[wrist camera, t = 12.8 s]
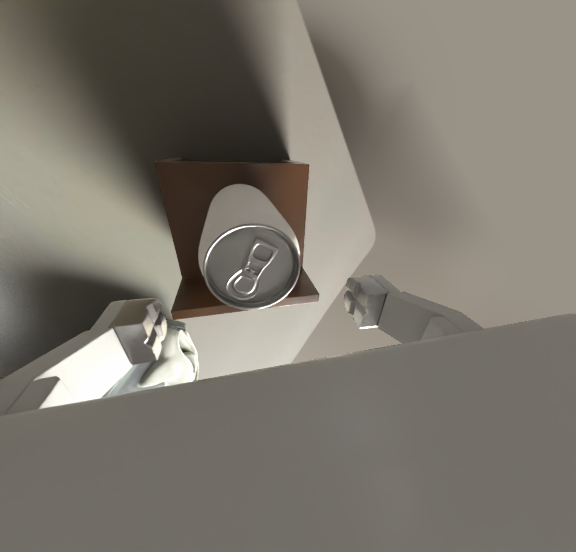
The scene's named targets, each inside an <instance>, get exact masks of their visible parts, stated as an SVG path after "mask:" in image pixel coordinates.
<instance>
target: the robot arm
mask: <svg viewBox="0 0 576 552" xmlns="http://www.w3.org/2000/svg"><path fill="white" fill-rule="evenodd" d="M346 286H347V288H348V290H347V291H346V293H345V294H344V305H345V308H346V310H347V311H348V313H350V314H352V315H354V317H353V320H354V321H355V322H356V324H357V325H358V326H359V328H360V329H362V328H370V327H378V328H379V329H380V330H382V331H384V332H385V333H387V334H388V335H390V336H391V337H393V338H395V339H396V340H398V341H399V342H401V343H402V344H398V345H392V346H387V347H381V348H375V349H370V350H364V351H359V352H353V353H347V354H342V355H336V356H331V357H325V358H319V359H314V360H308V361H303V362H297V363H291V364H286V365H280V366H275V367H269V368H264V369H258V370H253V371H247V372H242V373H236V374H231V375H225V376H220V377H214V378H208V379H203V380H197V381H192V382H186V383H181V384H175V385H170V386H164V387H158V388H153V389H147V390H142V391H136V392H131V393H125V394H120V395H114V396H108V397H103V398H101V397H102V396H103V395H104V394H105V393H106V392H107V391H108V390H109V389H110V388H111V387H112V386H113V385H114V384H115V383H116V382H117V381H118V380H119V379H120V378H121V377H122V376H123V375H124V374H125V373H126V372H127V371H128V370H129V369H130V368H131V367H132V365H136V364H141V363H147V362H152V361H157V360H158V357H159V354H160V351H161V348H162V345H161V343H160V342H161V341H162V340H163V339H164V338H165V336H166V332H167V323H166V318H165V315H164V314H162V313H161V312H160V309H161V307H162V306H161V303H160V300H159V299H158V298H145V299H133V300H122V301H114V302H111V303H110V304H109V305H108V307H107V308H106V309H105V311H104V312H103V313H102V315H101V316H100V317H99V319H98V320H97V321H96V323H95V324H94V325H93V327H92V328H91V329H90V331H84V332H82V333H81V334H79V335H77V336H75V337H74V338H72V339H70V340H69V341H67V342H65V343H63V344H62V345H60V346H58V347H56V348H55V349H53V350H51V351H50V352H48V353H46V354H44V355H43V356H41V357H39V358H37V359H36V360H34V361H32V362H31V363H29V364H27V365H25V366H24V367H22V368H20V369H18V370H17V371H15V372H13V373H12V374H10V375H8V376H6V377H5V378H3V379H1V380H0V552H576V314H564V315H558V316H552V317H547V318H542V319H536V320H530V321H525V322H519V323H514V324H508V325H503V326H497V327H492V328H486V329H484V328H482V327H481V326H480V325H478V324H477V323H475V322H474V321H473V320H471V319H470V318H468V317H467V316H466V315H464V314H463V313H462V312H459V311H457V310H454V309H451V308H448V307H445V306H443V305H440V304H437V303H434V302H431V301H428V300H426V299H423V298H420V297H417V296H415V295H412V294H409V293H406V292H400V291H399V290H398V289H397V288H396V287H394V286H393V285H392V284H391V283H390V282H389V281H387V280H386V279H385V278H384V277H383V276H381V275H379V274H376V275H368V276H361V277H354V278H348V280H347V284H346Z"/></svg>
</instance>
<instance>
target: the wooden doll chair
mask: <svg viewBox="0 0 576 552" xmlns="http://www.w3.org/2000/svg"><path fill="white" fill-rule="evenodd" d="M154 163H155V167H156V172H157V176H158V180H159V184H160V188H161V192H162V196H163V200H164V205H165V209H166V213H167V217H168V221H169V225H170V229H171V234H172V238H173V242H174V246H175V250H176V254H177V258H178V262H179V267H180V271H181V275H182V280H181V283H180V286H179V289H178V292H177V295H176V298H175V301H174V304H173V307H172V310H171V313H172V317H173V320H176V319H184V318H192V317H200V316H208V315H216V314H224V313H232V312H240V311H248V310H245V309H238V308H234V307H231V306H229V305H227V304H225V303H223V302H221V301H220V300H219V299H217V298H216V297H215V296H214V295H213V294H212V293H211V291H210V290H209V288H208V287H207V285H206V282H205V279H204V276H203V274H202V272H201V269H200V266H199V260H198V251H199V244H200V240H201V236H202V232H203V228H204V225H205V221H206V217H207V214H208V210H209V207H210V204H211V202H212V200H213V198H214V197H215V195H216V194H217V193H218V192H219V191H221V190H222V189H223V188H225V187H227V186H230V185H234V184H246V185H250V186H253V187H255V188H257V189H258V190H260V191H261V192H262V193H263V194H264V195H265V196H266V197H267V198H268V199H269V200H270V202H271V203H272V204H273V205H274V206H275V208H276V209H277V210H278V211H279V213H280V214H281V215H282V217H283V218H284V219H285V220H286V222H287V223H288V224H289V226H290V227H291V229H292V230H293V232H294V234H295V236H296V238H297V241H298V244H299V250H300V273H299V277H298V280H297V282H296V284H295V286H294V287H293V289H292V290H291V291H290V292H289V293H288V294H287V295H286V296H285V297H284V298H283V299H282V300H280V301H279V302H277V303H275V304H273V305H271V306H268V307H265V308H272V307H280V306H288V305H296V304H304V303H312V302H318V301H319V293H318V291H317V290H316V288H315V287H314V285H313V283H312V282H311V280H310V279H309V277H308V275H307V274H306V272H305V271H304V269H303V268H302V265H303V250H304V235H305V220H306V205H307V190H308V175H309V164H305V163H300V162H296V161H291V160H281V163H241V162H184V158H170V159H166V160H161V161H156V162H154ZM261 309H264V308H261ZM254 310H256V309H254Z"/></svg>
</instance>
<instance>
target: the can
mask: <svg viewBox="0 0 576 552" xmlns="http://www.w3.org/2000/svg"><path fill="white" fill-rule="evenodd" d="M198 260H199V266H200V269H201V272H202V274H203V276H204V279H205V282H206V285H207V287H208V288H209V290H210V291H211V293H212V294H213V295H214V296H215V297H216V298H217V299H219V300H220V301H221V302H223V303H225V304H227V305H229V306H231V307H234V308H238V309H245V310H254V309H261V308H265V307H268V306H271V305H273V304H275V303H277V302H279V301H280V300H282V299H283V298H284V297H285V296H286V295H287V294H288V293H289V292H290V291H291V290H292V289H293V287H294V286H295V284H296V282H297V280H298V277H299V273H300V250H299V244H298V241H297V238H296V236H295V234H294V232H293V230H292V229H291V227H290V226H289V224H288V223H287V222H286V220H285V219H284V218H283V217H282V215H281V214H280V213H279V211H278V210H277V209H276V208H275V206H274V205H273V204H272V203H271V202H270V200H269V199H268V198H267V197H266V196H265V195H264V194H263V193H262V192H261V191H260V190H258V189H257V188H255V187H253V186H250V185H246V184H234V185H230V186H227V187H225V188H223V189H222V190H221V191H219V192H218V193H217V194H216V195H215V197H214V198H213V200H212V202H211V204H210V207H209V210H208V214H207V217H206V221H205V225H204V228H203V232H202V236H201V240H200V244H199V251H198Z"/></svg>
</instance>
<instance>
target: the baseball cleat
mask: <svg viewBox="0 0 576 552" xmlns="http://www.w3.org/2000/svg"><path fill="white" fill-rule="evenodd" d="M166 323H167V332H166V336H165V338H164V339H163V340H162V341H161V342H160V343H161V345H162V348H161V351H160V354H159V357H158V360H157V361H152V362H147V363H141V364H136V365H132V367H131V368H130V369H129V370H128V371H127V372H126V373H125V374H124V375H123V376H122V377H121V378H120V379H119V380H118V381H117V382H116V383H115V384H114V385H113V386H112V387H111V388H110V389H109V390H108V391H107V392H106V393H105V394H104V395H103V396H102V397H101V398H103V397H108V396H114V395H120V394H125V393H131V392H136V391H142V390H147V389H153V388H158V387H164V386H170V385H175V384H181V383H186V382H192V381H197V380H198V370H199V369H198V358H197V351H196V348H195V346H194V345H193V343H192V341H191V339H190V336H189V334H188V332H187V331H185V330H186V324H185V323H183V322H179V321H173V320H166ZM182 330H183V332H182Z"/></svg>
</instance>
